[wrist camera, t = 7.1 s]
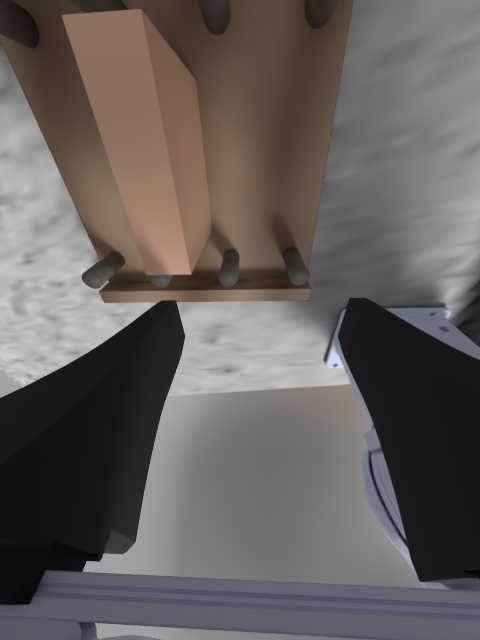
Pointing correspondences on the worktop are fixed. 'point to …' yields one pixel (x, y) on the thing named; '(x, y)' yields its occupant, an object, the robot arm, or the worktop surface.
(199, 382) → the worktop surface
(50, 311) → the worktop surface
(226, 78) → the rack
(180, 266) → the pink square slab
